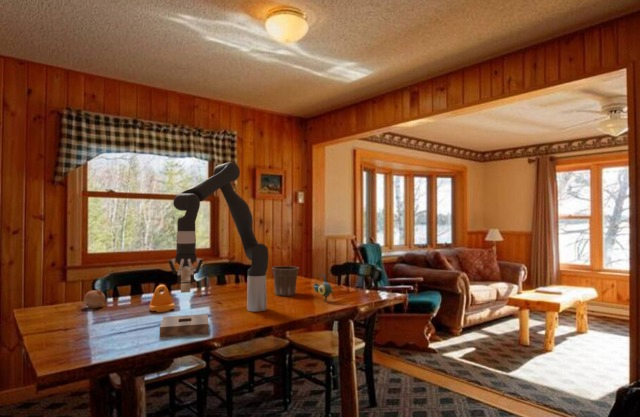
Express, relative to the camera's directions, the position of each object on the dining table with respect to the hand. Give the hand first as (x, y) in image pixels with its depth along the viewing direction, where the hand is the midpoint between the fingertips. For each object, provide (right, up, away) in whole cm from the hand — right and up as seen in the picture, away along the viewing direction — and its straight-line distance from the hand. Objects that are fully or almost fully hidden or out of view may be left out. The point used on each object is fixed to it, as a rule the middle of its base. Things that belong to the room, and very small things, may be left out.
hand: (185, 283), depth 162 cm
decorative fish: (+57, -20, +56) cm, 82 cm away
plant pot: (+34, -21, +74) cm, 84 cm away
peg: (0, -3, 0) cm, 3 cm away
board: (0, -19, 0) cm, 19 cm away
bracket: (-23, -20, +33) cm, 45 cm away
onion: (-59, -19, +37) cm, 72 cm away
